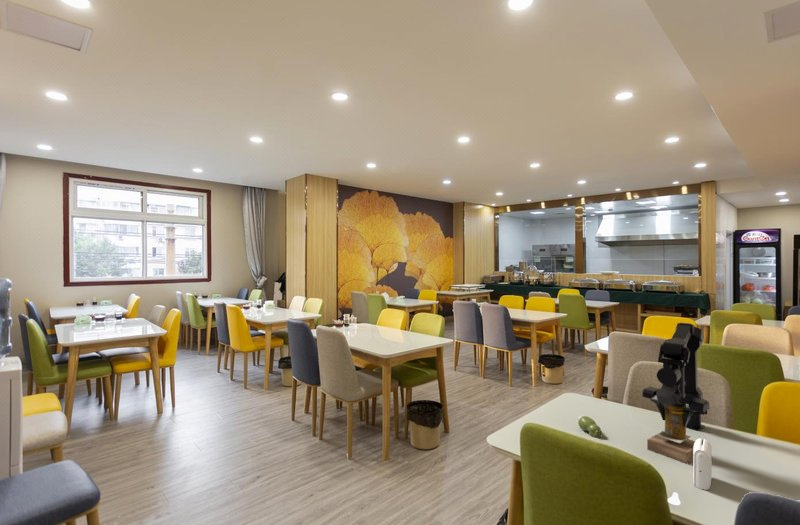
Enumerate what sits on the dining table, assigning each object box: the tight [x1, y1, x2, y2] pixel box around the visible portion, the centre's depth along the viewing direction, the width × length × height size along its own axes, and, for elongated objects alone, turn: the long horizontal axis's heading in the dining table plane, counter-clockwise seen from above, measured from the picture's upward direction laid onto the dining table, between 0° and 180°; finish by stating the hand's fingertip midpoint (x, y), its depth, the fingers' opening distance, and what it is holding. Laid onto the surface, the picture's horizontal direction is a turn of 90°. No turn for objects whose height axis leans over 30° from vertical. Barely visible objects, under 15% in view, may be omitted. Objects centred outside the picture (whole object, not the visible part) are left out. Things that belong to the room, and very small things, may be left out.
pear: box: [578, 415, 603, 438], centre depth 154 cm, size 6×5×10 cm
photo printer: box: [692, 438, 713, 491], centre depth 120 cm, size 10×4×12 cm, turn 140°
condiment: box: [656, 403, 692, 443], centre depth 138 cm, size 7×8×12 cm
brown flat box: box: [646, 430, 696, 465], centre depth 138 cm, size 12×12×4 cm
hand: (674, 423), depth 138 cm, fingers closed on condiment, 6 cm apart
